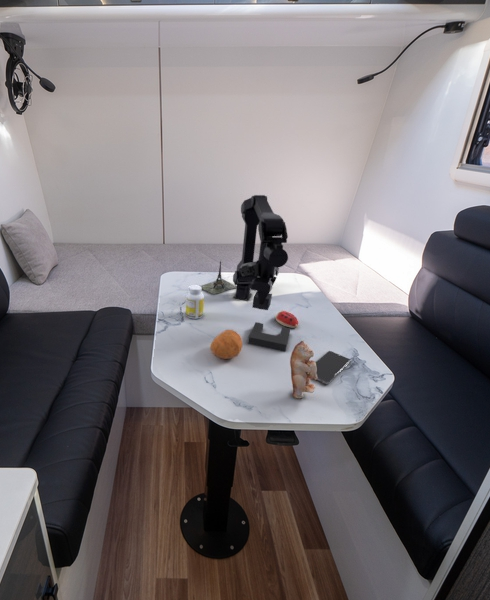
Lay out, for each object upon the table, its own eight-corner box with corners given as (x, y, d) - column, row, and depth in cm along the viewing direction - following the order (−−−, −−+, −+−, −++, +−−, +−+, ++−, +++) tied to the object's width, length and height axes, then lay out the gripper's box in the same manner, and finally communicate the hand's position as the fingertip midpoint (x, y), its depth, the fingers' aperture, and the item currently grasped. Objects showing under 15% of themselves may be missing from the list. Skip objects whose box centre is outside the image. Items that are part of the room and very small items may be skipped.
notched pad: (254, 328, 132) (255, 322, 131) (289, 335, 128) (290, 328, 127) (248, 343, 123) (248, 337, 122) (285, 351, 119) (286, 344, 118)
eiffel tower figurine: (222, 280, 172) (224, 252, 166) (238, 287, 165) (241, 258, 159) (197, 287, 164) (199, 258, 158) (213, 295, 157) (215, 265, 151)
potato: (248, 354, 117) (251, 334, 114) (225, 368, 110) (227, 347, 107) (226, 342, 123) (227, 323, 120) (203, 355, 116) (204, 335, 113)
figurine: (310, 405, 97) (320, 357, 90) (281, 394, 100) (289, 347, 94) (315, 392, 102) (326, 345, 95) (288, 382, 105) (296, 336, 99)
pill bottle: (203, 312, 143) (204, 284, 138) (202, 320, 137) (204, 291, 132) (186, 310, 143) (187, 283, 138) (184, 318, 138) (185, 290, 133)
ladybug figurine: (283, 315, 142) (285, 307, 140) (303, 326, 134) (305, 318, 132) (270, 319, 138) (271, 310, 137) (289, 331, 131) (291, 322, 129)
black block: (255, 301, 130) (256, 291, 129) (270, 304, 129) (271, 293, 127) (252, 307, 126) (253, 296, 124) (267, 310, 124) (269, 299, 123)
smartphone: (303, 371, 108) (329, 349, 118) (303, 374, 109) (328, 352, 119) (328, 383, 103) (352, 359, 113) (327, 386, 104) (351, 362, 114)
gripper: (249, 246, 130) (245, 287, 137) (236, 261, 115) (232, 307, 121) (281, 250, 127) (276, 292, 133) (272, 267, 111) (266, 313, 118)
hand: (262, 300), depth 126 cm, fingers closed on black block, 5 cm apart
